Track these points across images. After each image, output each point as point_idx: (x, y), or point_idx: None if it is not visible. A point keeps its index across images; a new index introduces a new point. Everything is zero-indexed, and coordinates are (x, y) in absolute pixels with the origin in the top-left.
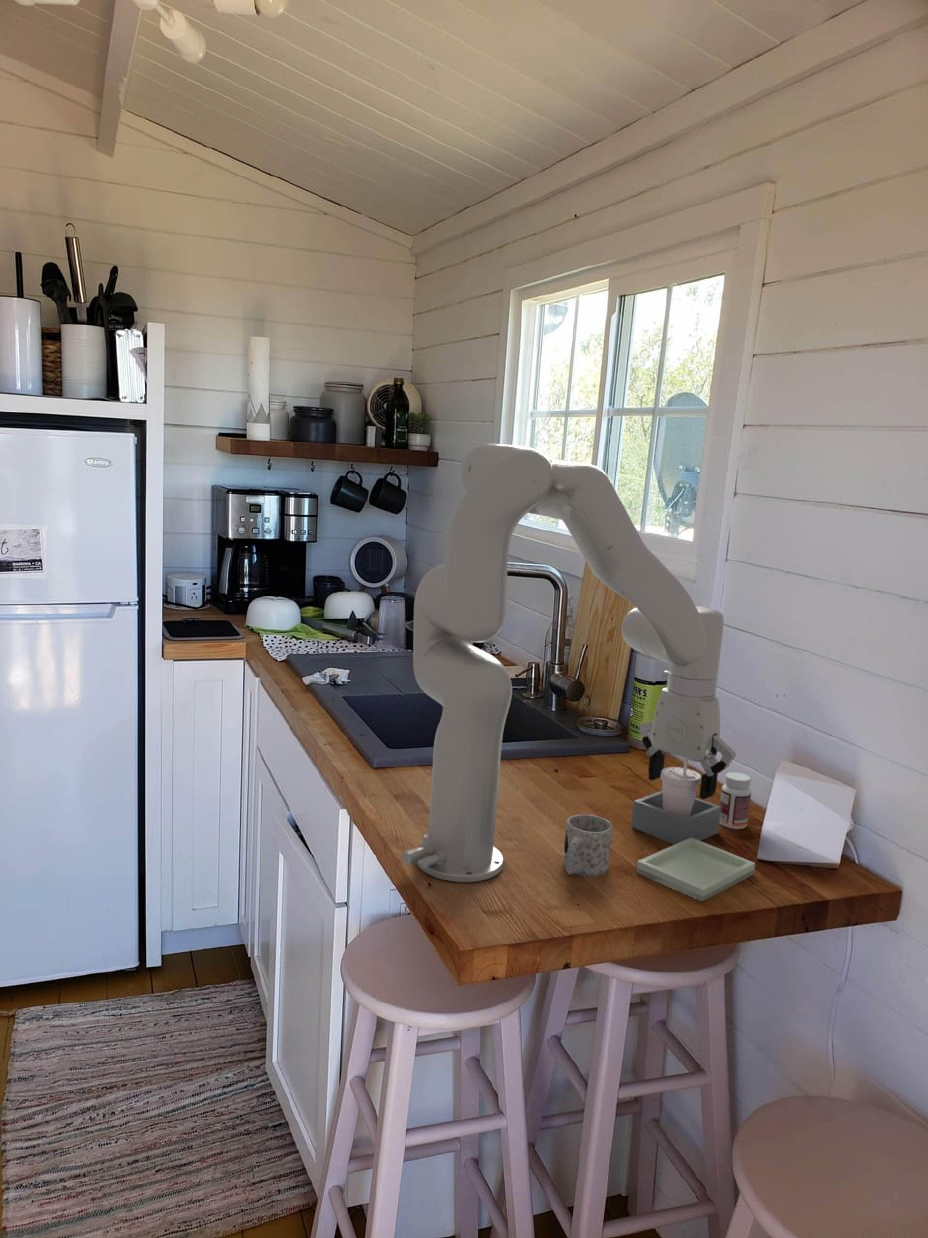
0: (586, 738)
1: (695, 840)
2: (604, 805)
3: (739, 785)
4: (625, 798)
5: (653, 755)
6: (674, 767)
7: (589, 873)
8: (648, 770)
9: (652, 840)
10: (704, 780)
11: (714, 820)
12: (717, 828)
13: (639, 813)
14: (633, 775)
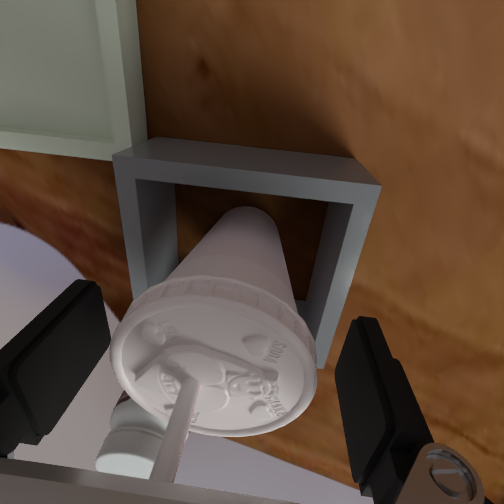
0: None
1: (109, 150)
2: (490, 245)
3: (111, 437)
4: (443, 322)
5: (412, 457)
6: (281, 422)
7: None
8: (399, 363)
9: (254, 116)
10: (7, 343)
11: None
12: None
13: (337, 169)
14: (465, 429)
